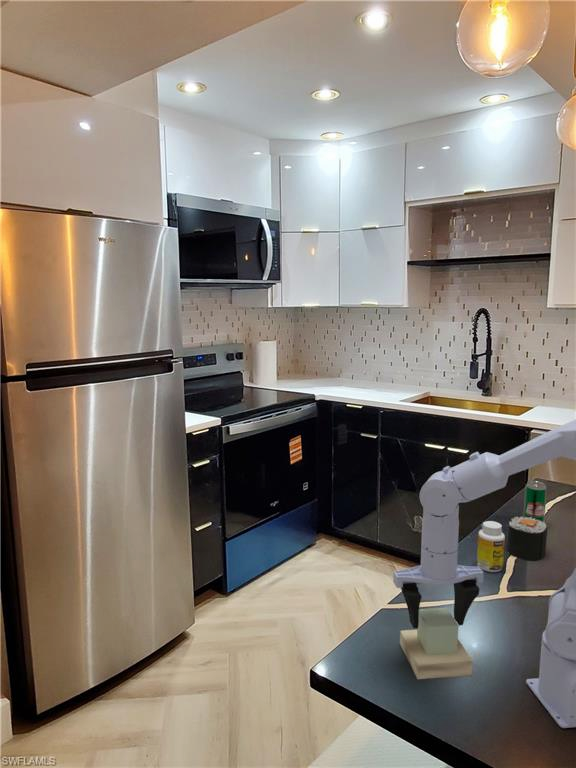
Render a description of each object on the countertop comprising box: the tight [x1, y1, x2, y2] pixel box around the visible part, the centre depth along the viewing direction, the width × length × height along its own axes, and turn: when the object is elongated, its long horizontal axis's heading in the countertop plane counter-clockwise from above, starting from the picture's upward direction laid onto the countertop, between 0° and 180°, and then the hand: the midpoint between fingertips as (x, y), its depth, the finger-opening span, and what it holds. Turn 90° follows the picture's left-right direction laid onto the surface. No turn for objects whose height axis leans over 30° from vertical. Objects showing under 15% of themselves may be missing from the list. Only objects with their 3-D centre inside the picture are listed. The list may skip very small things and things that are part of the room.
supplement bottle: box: [476, 520, 506, 573], centre depth 120 cm, size 6×6×10 cm
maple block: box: [399, 629, 474, 680], centre depth 90 cm, size 9×9×3 cm
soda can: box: [522, 480, 547, 523], centre depth 142 cm, size 5×5×12 cm
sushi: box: [507, 516, 548, 562], centre depth 127 cm, size 8×8×8 cm
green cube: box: [416, 607, 459, 655], centre depth 89 cm, size 5×5×5 cm
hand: (436, 623), depth 89 cm, fingers open, 7 cm apart
